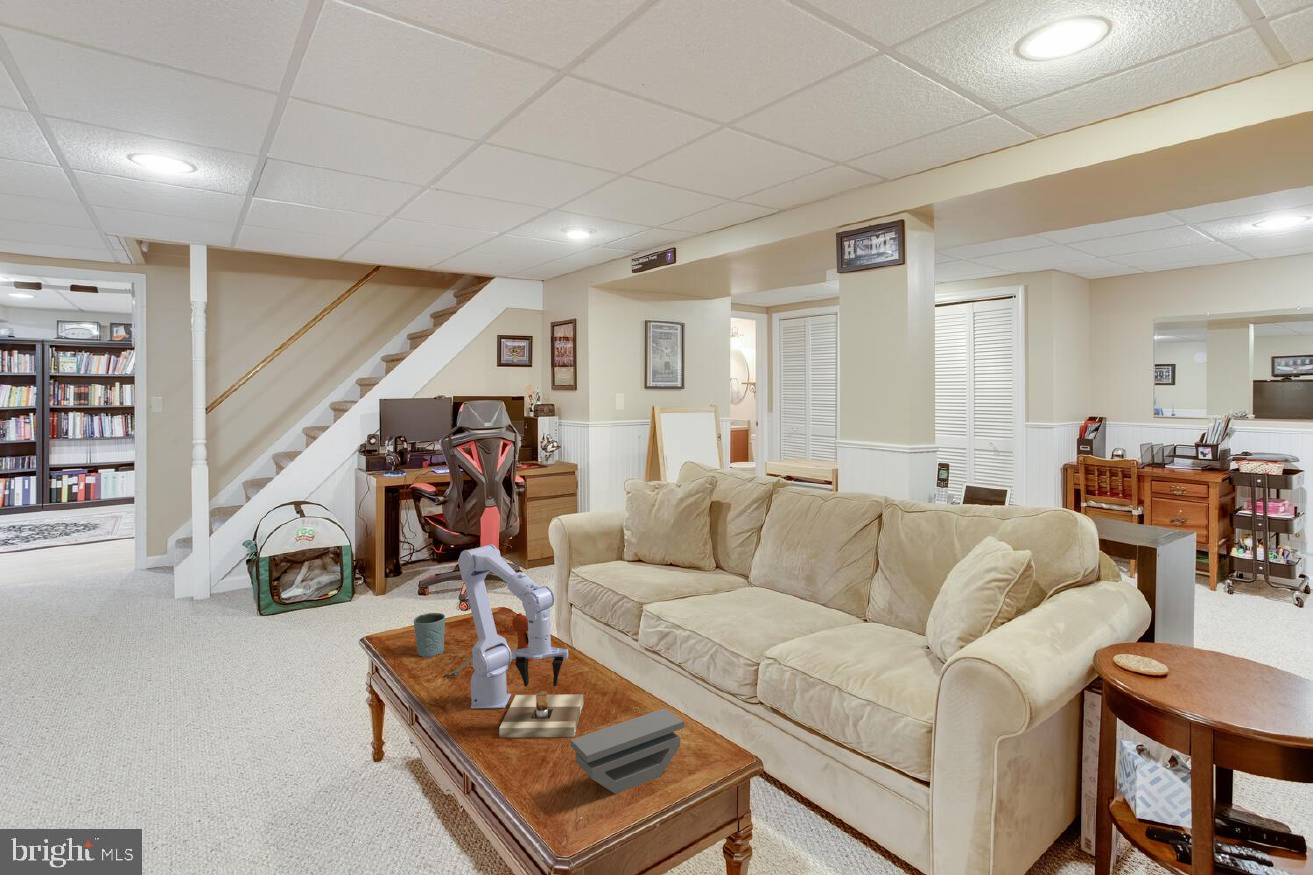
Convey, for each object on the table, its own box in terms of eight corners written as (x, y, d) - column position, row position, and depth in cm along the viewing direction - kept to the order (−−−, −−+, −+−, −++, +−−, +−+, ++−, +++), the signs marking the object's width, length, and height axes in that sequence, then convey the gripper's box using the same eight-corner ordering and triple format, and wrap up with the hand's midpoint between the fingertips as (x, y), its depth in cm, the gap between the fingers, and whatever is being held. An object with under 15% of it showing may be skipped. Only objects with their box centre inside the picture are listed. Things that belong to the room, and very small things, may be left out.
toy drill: (545, 668, 205) (540, 620, 205) (511, 659, 218) (506, 614, 218) (558, 663, 208) (552, 615, 208) (523, 654, 221) (519, 610, 222)
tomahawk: (462, 683, 201) (462, 679, 201) (442, 679, 203) (443, 675, 203) (494, 654, 222) (494, 651, 221) (476, 651, 223) (476, 648, 223)
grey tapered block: (588, 805, 139) (586, 755, 138) (571, 786, 146) (570, 739, 145) (684, 766, 153) (683, 721, 152) (665, 751, 159) (664, 707, 158)
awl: (535, 725, 173) (534, 696, 172) (538, 719, 176) (537, 690, 175) (546, 725, 172) (545, 696, 172) (549, 719, 175) (548, 690, 175)
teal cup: (434, 644, 230) (433, 610, 229) (452, 650, 224) (451, 616, 223) (408, 654, 221) (407, 619, 221) (427, 660, 216) (425, 625, 215)
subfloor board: (499, 737, 167) (499, 727, 167) (516, 703, 185) (515, 694, 185) (574, 736, 167) (574, 727, 166) (583, 702, 185) (583, 694, 184)
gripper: (508, 640, 168) (509, 691, 169) (564, 639, 168) (566, 691, 169) (514, 630, 175) (516, 679, 176) (568, 629, 175) (570, 679, 176)
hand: (541, 684), depth 173 cm, fingers open, 7 cm apart
